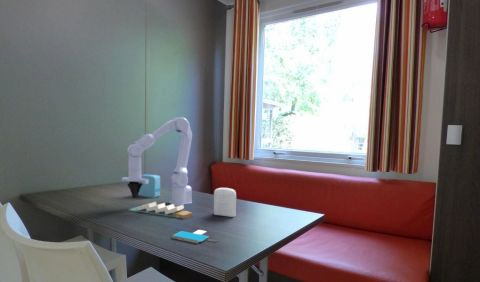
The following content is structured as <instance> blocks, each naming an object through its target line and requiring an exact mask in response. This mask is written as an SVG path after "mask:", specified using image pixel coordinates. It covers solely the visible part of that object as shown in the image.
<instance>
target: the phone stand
mask: <svg viewBox="0 0 480 282" xmlns="http://www.w3.org/2000/svg"><path fill="white" fill-rule="evenodd" d="M207 232H208V231H207V230H203V229H197V230H196V231H194V232H188V231H184V230H181V231H178V232H176V233H173V234H172V236H171V239H173V240H179V241H183V242H188V243H193V244H201V243H202V242H206V241H208V242H214V243H216V242H218V240H217V239H213V238H209V237H210V236H209V235H205V233H207Z"/></svg>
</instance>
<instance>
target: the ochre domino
mask: <svg viewBox="0 0 480 282" xmlns="http://www.w3.org/2000/svg"><path fill="white" fill-rule="evenodd" d="M173 216H174V217H173V218H177V217H178V218H179V219H182V220H183V219H184V220H185V219H187V218H188V219H189V218H191V217H193V212H192V211H191V212H190V211H187V210H183V209H181V210H179V211H176V212H173Z"/></svg>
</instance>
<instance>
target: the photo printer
mask: <svg viewBox="0 0 480 282" xmlns="http://www.w3.org/2000/svg"><path fill="white" fill-rule="evenodd" d="M236 191H237V190H235V189H233V188H229V187H218V188H216V189H214V192H213V215H214V216H221V217H222V216H223V217H228V218H230V217H231V218H234V217H236V215H237V214H236V213H237V211H236V210H237V192H236Z"/></svg>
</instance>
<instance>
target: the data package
mask: <svg viewBox="0 0 480 282" xmlns="http://www.w3.org/2000/svg"><path fill="white" fill-rule="evenodd" d="M141 178H144V179H149V183H148V184H144V183H143V185H142V186H141V188H140V191H139V194H138V195H139V196H140V197H143V198H152V199H156V198H158V197H160V196H161V176H160V175H158V174H149V173H148V174H147V173H146V174H141Z"/></svg>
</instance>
